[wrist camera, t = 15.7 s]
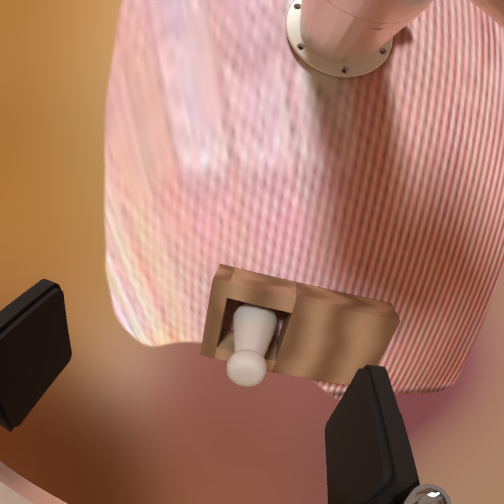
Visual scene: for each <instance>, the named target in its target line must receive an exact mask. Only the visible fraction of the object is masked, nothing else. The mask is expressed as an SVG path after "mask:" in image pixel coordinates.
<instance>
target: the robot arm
mask: <svg viewBox="0 0 504 504" xmlns="http://www.w3.org/2000/svg"><path fill="white" fill-rule="evenodd" d="M470 1H471V2H472V3H474V4H475V5H476V6H477V7H479V8H480V9H481V10H482V11H484V12H485V13H486V14H487V15H489V16H490V17H491V18H492V19H493V20H494V21H496V22H497V23H498V24H499V25H500V26H501V27H502V28H504V0H470ZM431 2H432V0H294V1H293V2H292V4H291V5H290V7H289V9H288V12H287V15H286V22H285V23H286V33H287V38H288V40H289V42H290V45H291V47H292V48H293V49H294V51H295V52H296V54H297V55H298V56H299V57H300V58H301V59H302V60H303V61H304V62H305V63H307V64H308V65H309V66H311V67H312V68H314V69H316V70H318V71H320V72H322V73H325V74H328V75H331V76H336V77H357V76H362V75H365V74H368V73H370V72H372V71H373V70H375V69H376V68H378V67H379V66H380V65H381V64H383V62H384V61H385V60H386V58H387V57H388V55H389V53H390V51H391V47H392V42H393V36H394V35H395V34H397V33H398V32H399V31H400V30H401V29H402V28H404V27H405V26H406V25H407V24H408V23H410V22H411V21H412V20H413V19H414V18H416V17H417V16H418V15H419V14H420V13H421V12H423V11H424V10H425V9H426V8H427V7H428V6H429V5H430V3H431ZM295 8H299V9H295ZM299 47H302V48H303V50H299ZM380 51H381V52H382V53H383V54H381V53H380ZM342 69H344V70H345V71H346V73H343V72H342ZM71 356H72V351H71V345H70V340H69V334H68V326H67V319H66V311H65V304H64V294H63V291H62V290H61V288H60V286H59V285H58V284H57V283H54V282H52V281H49V280H46V279H42V280H40V281H39V282H38V283H36V284H35V285H34V286H32V287H31V288H30V289H28V290H27V291H26V292H24V293H23V294H22V295H21V296H20V297H18V298H17V299H15V300H14V301H13V302H11V303H10V304H9V305H8V306H6V307H5V308H4V309H3V310H1V311H0V425H1V426H3V427H4V428H6V429H7V430H8V431H10V432H11V431H12V430H13V428H14V427H18V426H19V425H20V424H21V423H22V422H23V420H24V419H25V418H26V416H27V415H28V414H29V412H30V411H31V409H32V408H33V407H34V406H35V404H36V403H37V402H38V400H39V399H40V398H41V397H42V395H43V394H44V393H45V391H46V390H47V389H48V388H49V386H50V385H51V384H52V382H53V381H54V380H55V379H56V378H57V376H58V375H59V374H60V373H61V371H62V370H63V369H64V368H65V366H66V365H67V364H68V362H69V361H70V359H71ZM325 444H326V462H327V486H328V504H451V501H450V498H449V496H448V494H447V493H446V492H445V491H444V490H443V489H442V488H441V487H439V486H437V485H434V484H422V485H420V483H419V479H418V475H417V470H416V466H415V462H414V458H413V454H412V451H411V447H410V443H409V440H408V436H407V432H406V429H405V425H404V422H403V419H402V416H401V413H400V412H399V409H398V405H397V402H396V399H395V395H394V392H393V389H392V386H391V383H390V380H389V377H388V374H387V371H386V368H385V367H382V366H375V365H366V366H364V368H363V369H362V368H359V369H358V370H357V372H356V374H355V376H354V378H353V379H352V381H351V383H350V385H349V386H348V388H347V390H346V392H345V393H344V395H343V397H342V399H341V400H340V402H339V404H338V405H337V407H336V409H335V410H334V412H333V414H332V415H331V417H330V419H329V420H328V422H327V424H326V427H325ZM0 504H67V503H65V502H63V501H61V500H60V499H58V498H56V497H54V496H53V495H51V494H49V493H47V492H46V491H44V490H42V489H40V488H39V487H37V486H35V485H34V484H32V483H31V482H29V481H27V480H26V479H24V478H23V477H21V476H20V475H18V474H17V473H15V472H14V471H12V470H11V469H10V468H8V467H7V466H5V465H4V464H3V463H1V462H0Z"/></svg>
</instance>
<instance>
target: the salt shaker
mask: <svg viewBox="0 0 504 504" xmlns="http://www.w3.org/2000/svg"><path fill="white" fill-rule="evenodd" d="M276 326H277V317H276V314H275V312H274V310H273V309H272V308H267V307H263V306H259V305H254V304H250V303H244V304H243V305H241V306H239V308H238V309H237V310H236V312H235V313H234V315H233V328H234V351H235V353H233V355H232V356H231V357H230V358H229V360H228V362H227V375H228V377H229V378H230V380H232V381H233V382H235V383H236V384H237V385H241V386H244V387H252V386H255V385H258V384H260V383H261V382H262V381H263V380H264V378H265V376H266V371H267V363H266V361H265V359H264V356H265V353H266V351H267V349H268V346H269V344H270V342H271V339H272V337H273V335H274V332H275V330H276Z"/></svg>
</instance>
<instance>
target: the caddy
mask: <svg viewBox="0 0 504 504" xmlns="http://www.w3.org/2000/svg"><path fill="white" fill-rule="evenodd" d="M229 298H230V299H234V300H238V301H242V302H246V303H250V304H254V305H259V306H263V307H267V308H272V309H276V310H280V311H285V312H286V315H285V318H284V321H283V324H282V327H281V330H280V333H279V336H278V339H277V341H272V340H271V342H270V344H269V346H268V349H267V351H266V353H265V356H264V359H265V361H266V363H267V371H271V372H275V373H280V374H285V375H291V376H296V377H301V378H307V379H313V380H319V381H325V382H331V383H338V384H345V385H350V383H351V381H352V379H353V378H354V376H355V374H356V372H357V370H358V369H359V368H362V369H363V368H364V366H366V365H375V366H377V365H378V363H379V361H380V359H381V357H382V356H383V354H384V352H385V350H386V348H387V346H388V344H389V342H390V341H391V339H392V337H393V335H394V333H395V331H396V329H397V327H398V325H399V323H400V319H399V317H398V315H397V313H396V312H395V310H394V308H393V306H392V304H391V303H387V302H382V301H378V300H373V299H369V298H364V297H360V296H355V295H351V294H346V293H342V292H337V291H333V290H329V289H324V288H320V287H315V286H311V285H307V284H302V283H298V282H294V281H290V280H285V279H281V278H277V277H273V276H268V275H264V274H260V273H256V272H251V271H247V270H243V269H239V268H235V267H231V266H227V265H223V264H220V266H219V268H218V270H217V272H216V274H215V276H214V278H213V281H212V287H211V293H210V299H209V305H208V311H207V316H206V323H205V329H204V335H203V341H202V347H201V355H203V356H207V357H210V358H215V359H219V360H222V361H227V362H228V360H229V358H230V357H231V356H232V355H233V353H235V351H234V332H233V331H229V330H225V329H223V325H224V320H225V316H226V311H227V306H228V301H229Z"/></svg>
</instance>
